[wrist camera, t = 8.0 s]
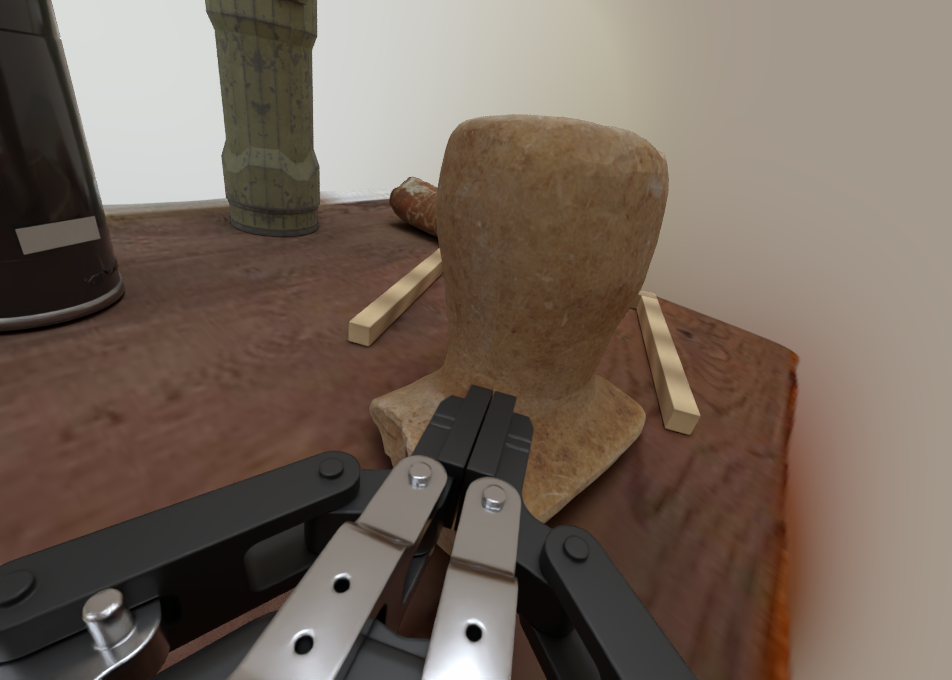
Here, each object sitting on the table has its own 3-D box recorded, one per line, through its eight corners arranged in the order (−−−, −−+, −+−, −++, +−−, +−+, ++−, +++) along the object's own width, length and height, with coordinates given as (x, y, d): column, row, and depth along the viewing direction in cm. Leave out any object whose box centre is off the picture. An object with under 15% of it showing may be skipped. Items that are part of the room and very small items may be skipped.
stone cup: (509, 345, 31) (562, 117, 24) (661, 441, 24) (797, 161, 17) (307, 417, 21) (296, 66, 14) (465, 613, 15) (599, 120, 7)
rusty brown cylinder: (422, 218, 59) (427, 176, 56) (530, 267, 48) (542, 217, 45) (383, 221, 54) (386, 175, 52) (493, 275, 44) (504, 221, 41)
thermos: (275, 206, 53) (250, -220, 36) (345, 233, 48) (354, -241, 31) (201, 213, 46) (128, -310, 29) (275, 246, 41) (238, -355, 24)
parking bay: (690, 435, 25) (701, 416, 25) (347, 341, 28) (348, 321, 28) (649, 307, 43) (655, 293, 43) (442, 257, 46) (443, 243, 45)
